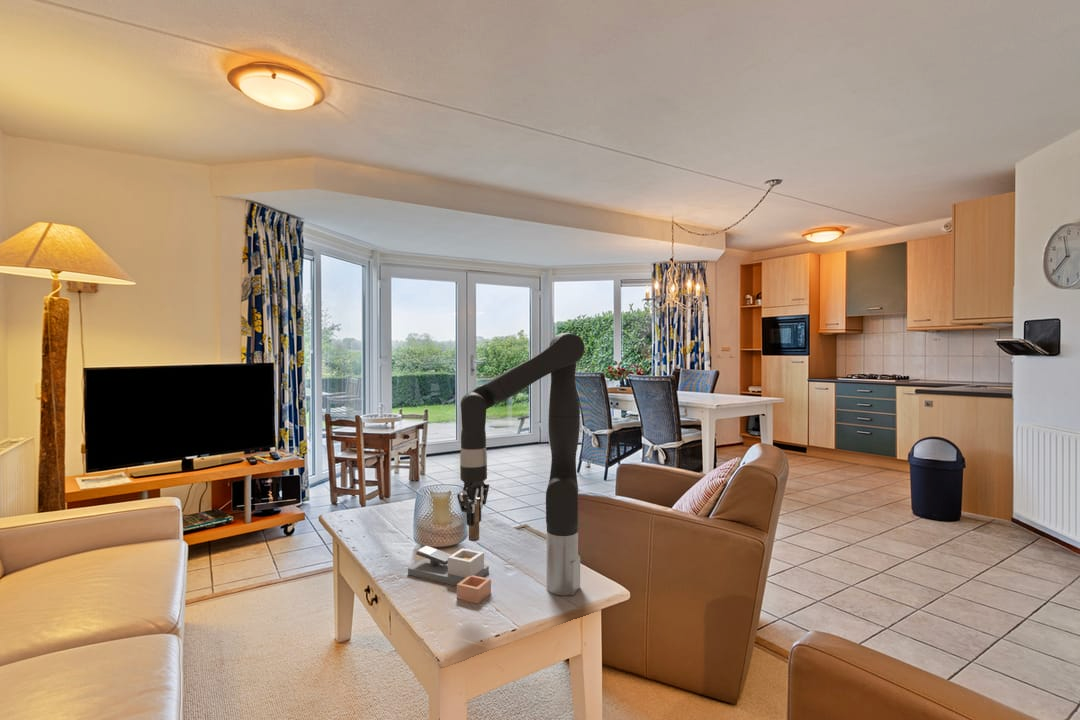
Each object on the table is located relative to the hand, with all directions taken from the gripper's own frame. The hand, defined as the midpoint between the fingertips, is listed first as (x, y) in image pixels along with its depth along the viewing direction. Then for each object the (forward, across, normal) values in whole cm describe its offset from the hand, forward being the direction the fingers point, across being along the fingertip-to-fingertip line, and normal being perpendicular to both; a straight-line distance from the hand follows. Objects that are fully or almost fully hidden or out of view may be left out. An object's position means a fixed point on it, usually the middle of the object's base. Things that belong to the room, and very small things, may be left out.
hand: (474, 523), depth 149 cm
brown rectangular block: (+5, 0, 0) cm, 5 cm away
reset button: (+17, +9, +9) cm, 21 cm away
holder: (+21, 0, 0) cm, 21 cm away
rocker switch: (+16, +9, +20) cm, 27 cm away
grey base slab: (+21, +9, +15) cm, 27 cm away
